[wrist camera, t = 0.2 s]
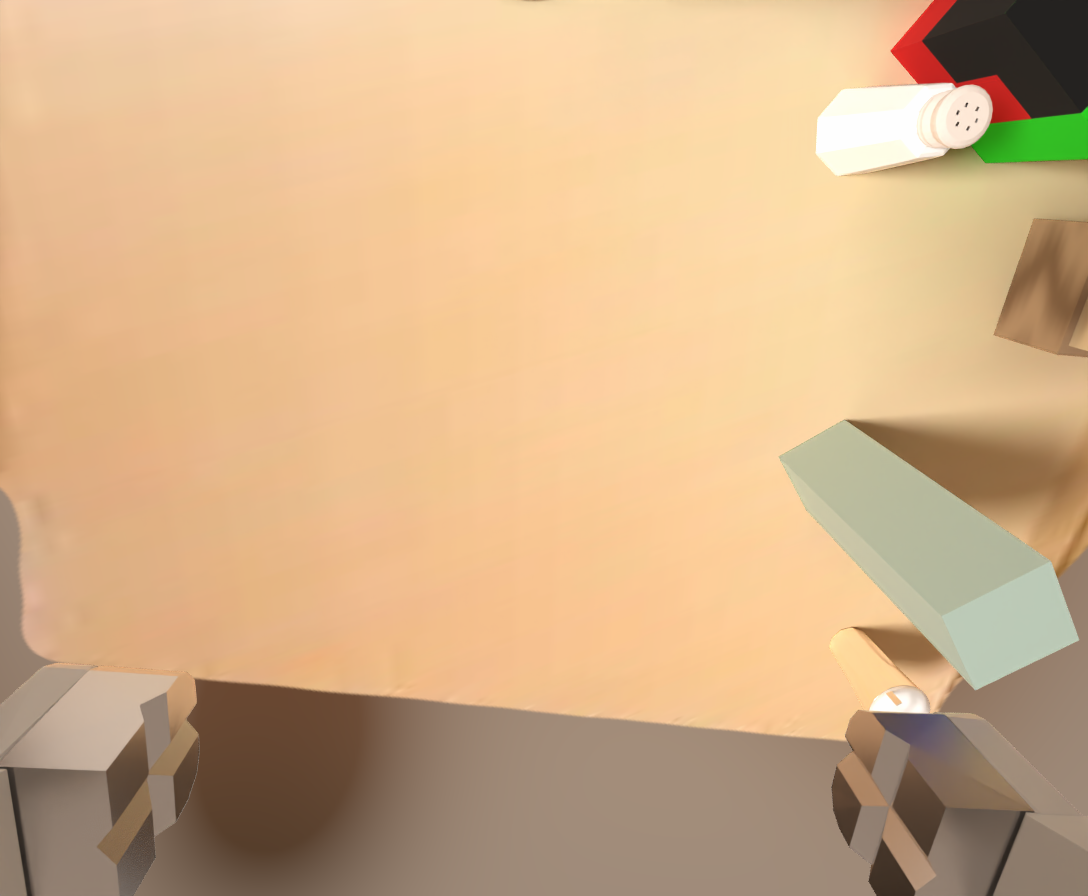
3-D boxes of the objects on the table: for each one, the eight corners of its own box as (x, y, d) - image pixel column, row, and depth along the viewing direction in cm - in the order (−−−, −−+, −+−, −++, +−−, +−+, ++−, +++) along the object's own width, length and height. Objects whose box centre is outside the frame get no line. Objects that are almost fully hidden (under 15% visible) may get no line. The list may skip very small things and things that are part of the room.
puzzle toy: (1021, -103, 38) (1189, -193, 29) (1113, 27, 41) (1293, -18, 32) (889, 51, 41) (1004, 13, 32) (985, 163, 44) (1116, 158, 34)
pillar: (778, 456, 50) (941, 616, 32) (844, 419, 50) (1050, 561, 31) (806, 510, 52) (975, 690, 34) (870, 475, 52) (1079, 640, 33)
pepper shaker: (798, 162, 43) (892, 156, 33) (836, 71, 41) (948, 34, 31) (871, 189, 44) (985, 191, 33) (911, 101, 42) (1044, 75, 32)
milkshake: (857, 605, 56) (929, 689, 47) (880, 647, 58) (953, 736, 49) (809, 631, 57) (870, 718, 48) (833, 671, 59) (896, 763, 49)
